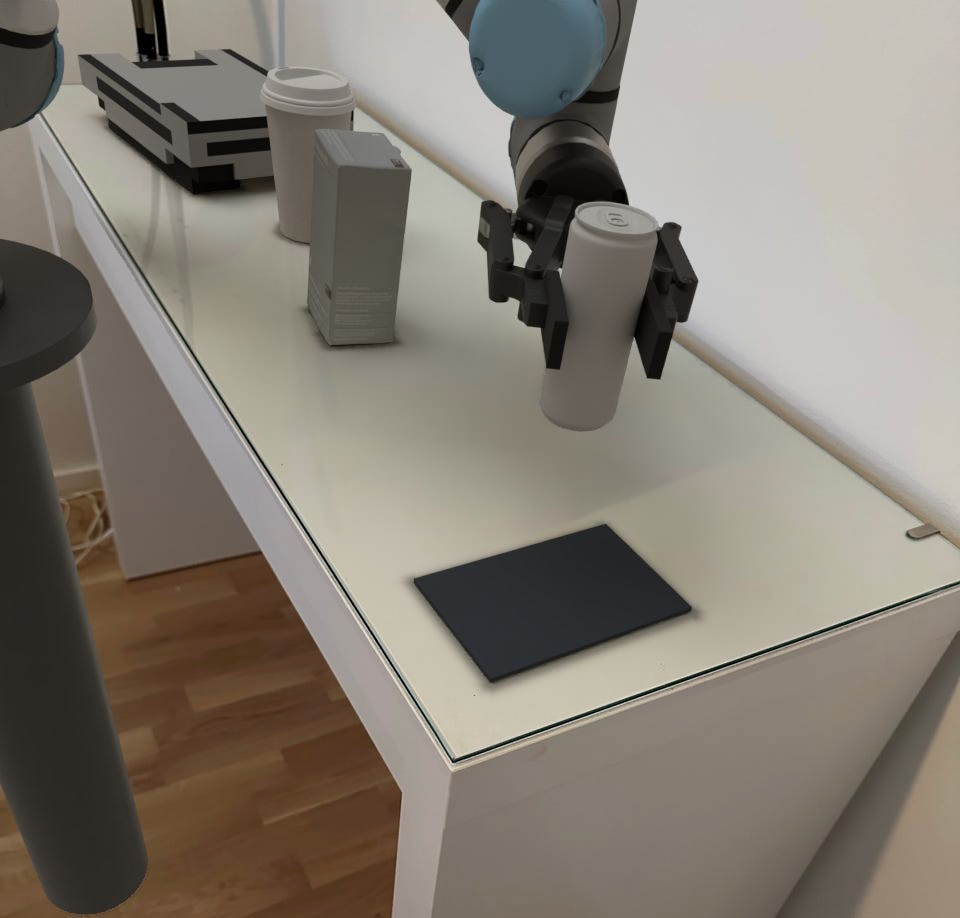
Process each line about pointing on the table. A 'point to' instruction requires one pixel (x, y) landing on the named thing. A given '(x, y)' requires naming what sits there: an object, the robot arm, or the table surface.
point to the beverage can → (599, 312)
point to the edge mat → (549, 600)
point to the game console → (188, 114)
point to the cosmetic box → (356, 235)
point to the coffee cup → (301, 135)
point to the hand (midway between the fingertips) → (608, 350)
